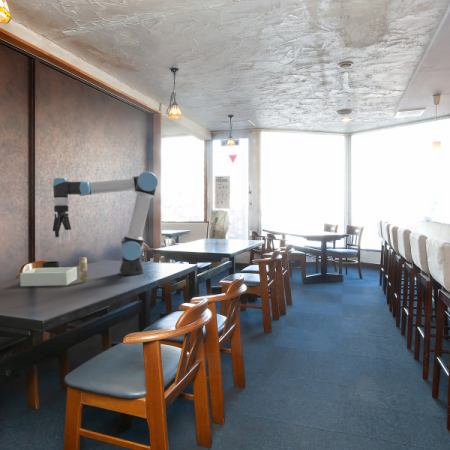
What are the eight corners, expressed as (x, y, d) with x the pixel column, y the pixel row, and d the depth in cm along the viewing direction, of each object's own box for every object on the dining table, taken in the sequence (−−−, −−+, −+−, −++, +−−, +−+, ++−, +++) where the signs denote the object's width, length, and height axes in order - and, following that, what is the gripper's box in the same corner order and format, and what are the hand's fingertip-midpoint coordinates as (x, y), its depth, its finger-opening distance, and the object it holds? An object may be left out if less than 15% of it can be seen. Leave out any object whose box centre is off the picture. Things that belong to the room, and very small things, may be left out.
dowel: (88, 281, 211) (87, 257, 210) (86, 283, 207) (85, 258, 206) (80, 281, 211) (80, 257, 210) (78, 283, 207) (78, 258, 206)
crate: (77, 278, 219) (76, 267, 219) (66, 285, 201) (66, 272, 201) (35, 279, 217) (34, 268, 217) (20, 286, 200) (20, 273, 199)
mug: (55, 279, 220) (55, 263, 220) (38, 278, 223) (38, 263, 222) (66, 276, 229) (65, 261, 229) (49, 275, 232) (49, 261, 232)
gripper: (63, 205, 225) (64, 240, 226) (45, 205, 200) (46, 244, 201) (75, 205, 225) (76, 239, 226) (59, 204, 201) (60, 243, 201)
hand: (62, 241), depth 214 cm, fingers open, 13 cm apart
